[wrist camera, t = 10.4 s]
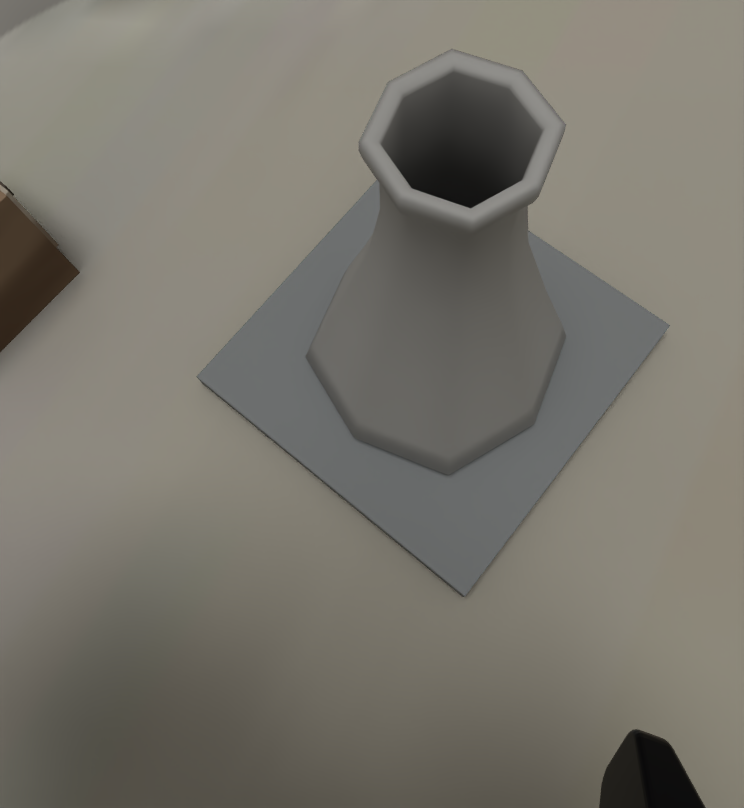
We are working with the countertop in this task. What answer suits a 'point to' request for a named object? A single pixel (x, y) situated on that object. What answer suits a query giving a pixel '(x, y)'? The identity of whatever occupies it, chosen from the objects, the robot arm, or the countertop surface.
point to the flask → (447, 269)
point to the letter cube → (26, 268)
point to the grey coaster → (402, 478)
